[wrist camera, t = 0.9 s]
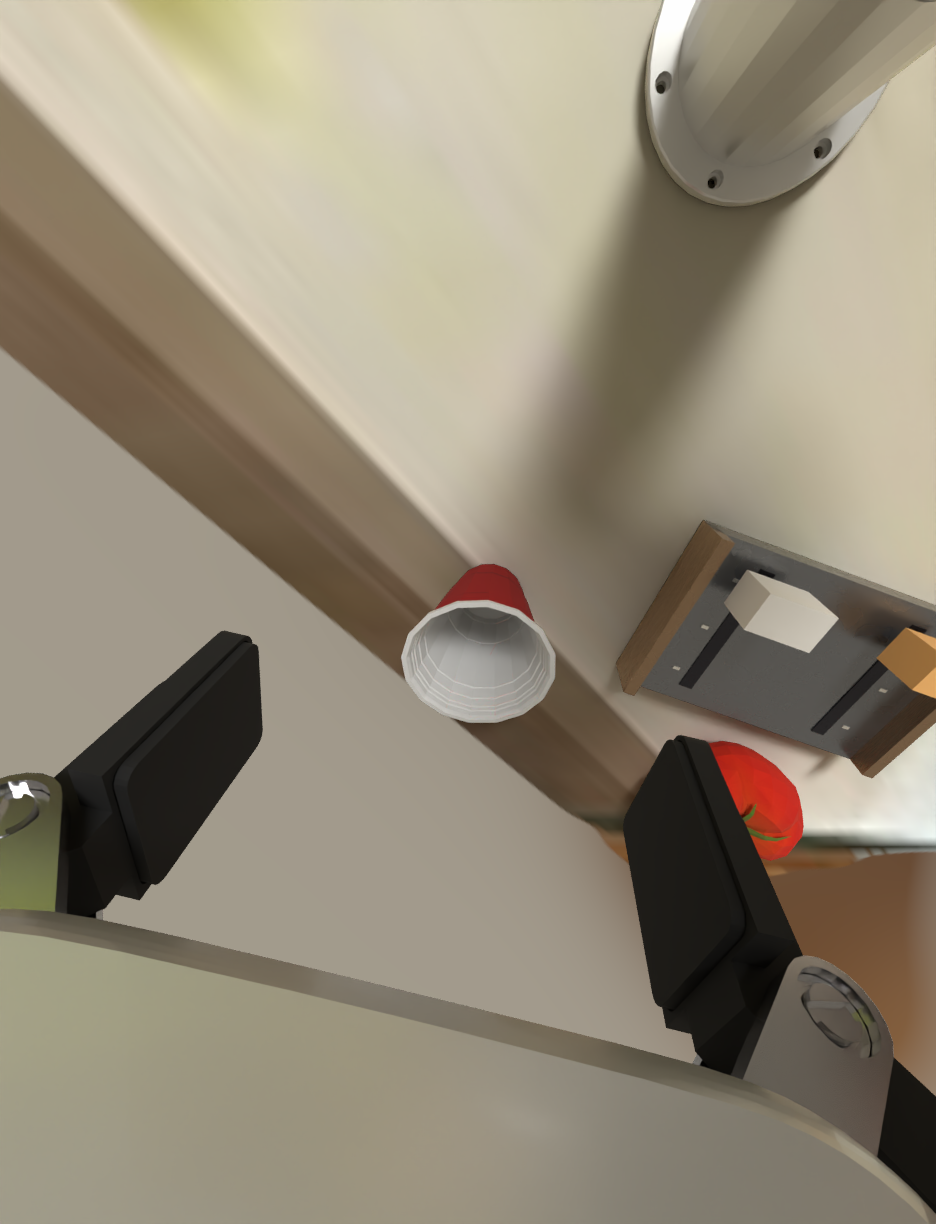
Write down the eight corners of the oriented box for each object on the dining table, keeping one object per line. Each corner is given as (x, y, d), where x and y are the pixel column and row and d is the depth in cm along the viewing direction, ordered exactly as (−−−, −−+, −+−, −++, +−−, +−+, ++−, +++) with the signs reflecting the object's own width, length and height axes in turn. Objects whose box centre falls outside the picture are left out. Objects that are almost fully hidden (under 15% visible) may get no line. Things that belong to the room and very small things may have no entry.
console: (703, 519, 38) (722, 538, 34) (972, 618, 39) (1020, 648, 35) (616, 663, 45) (623, 692, 41) (844, 742, 46) (872, 778, 42)
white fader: (740, 562, 36) (770, 593, 31) (799, 583, 36) (838, 618, 32) (717, 594, 37) (743, 629, 33) (775, 615, 38) (809, 653, 33)
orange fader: (893, 618, 37) (946, 657, 32) (951, 639, 37) (1011, 681, 32) (865, 648, 38) (911, 690, 33) (920, 668, 38) (975, 712, 34)
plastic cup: (480, 662, 47) (464, 751, 36) (409, 580, 43) (369, 652, 33) (575, 607, 43) (588, 690, 32) (504, 513, 39) (493, 571, 29)
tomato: (793, 719, 46) (845, 793, 38) (773, 808, 51) (814, 888, 44) (643, 723, 48) (663, 793, 40) (640, 807, 54) (657, 883, 46)
